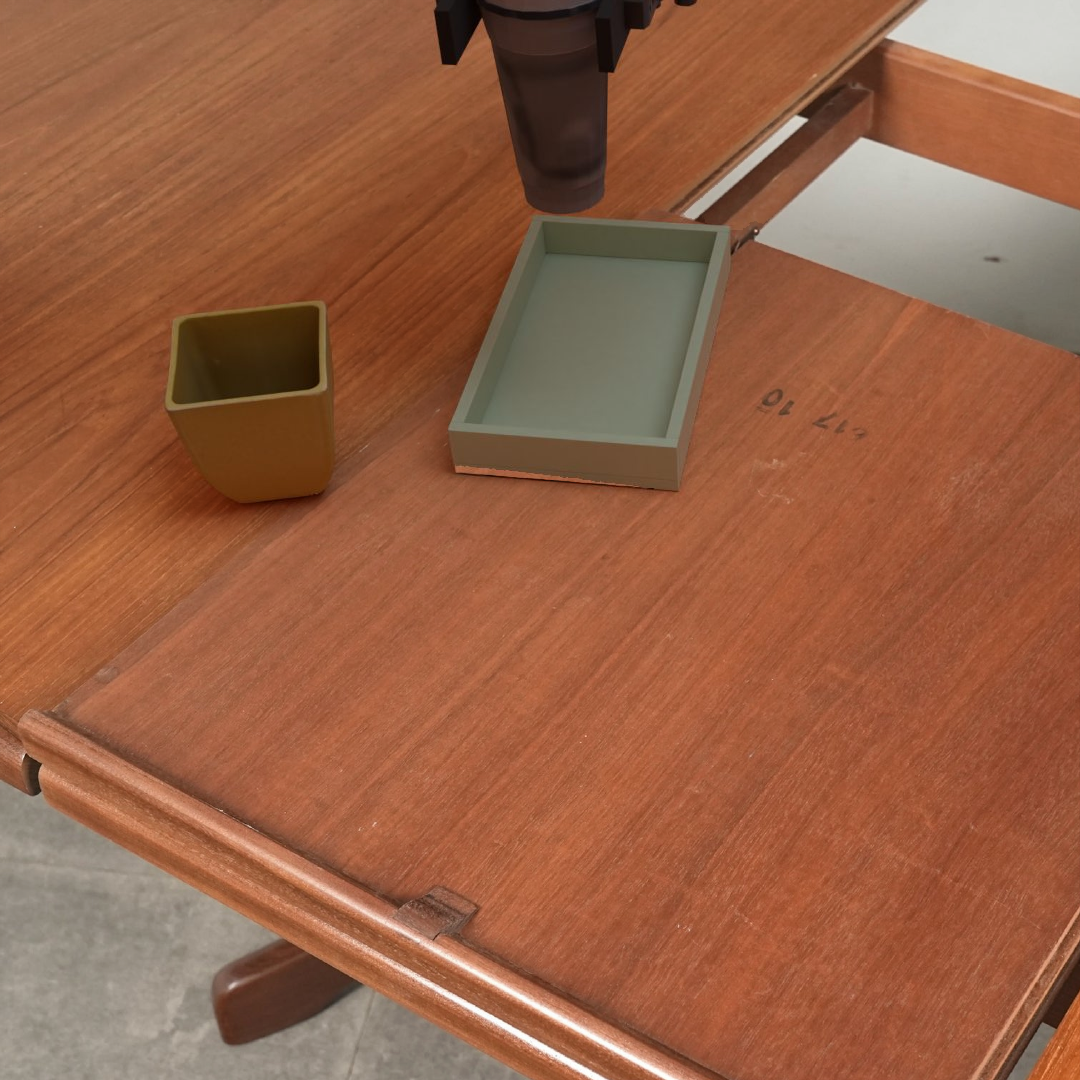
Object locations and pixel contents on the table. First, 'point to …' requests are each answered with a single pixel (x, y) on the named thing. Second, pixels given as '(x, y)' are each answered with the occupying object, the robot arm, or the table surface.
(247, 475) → the flower pot
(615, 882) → the table surface
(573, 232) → the tray
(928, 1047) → the table surface
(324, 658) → the table surface
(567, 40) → the beverage cup
